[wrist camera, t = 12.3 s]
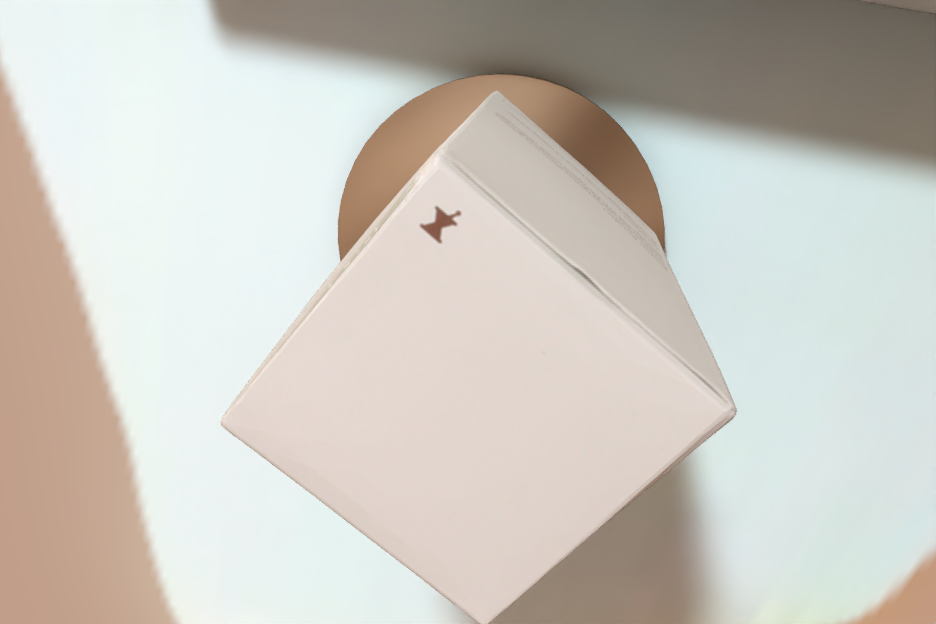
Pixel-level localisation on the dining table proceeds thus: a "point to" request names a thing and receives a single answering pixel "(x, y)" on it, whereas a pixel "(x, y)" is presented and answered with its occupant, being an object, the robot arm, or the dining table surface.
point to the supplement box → (488, 367)
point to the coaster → (449, 105)
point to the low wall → (909, 4)
